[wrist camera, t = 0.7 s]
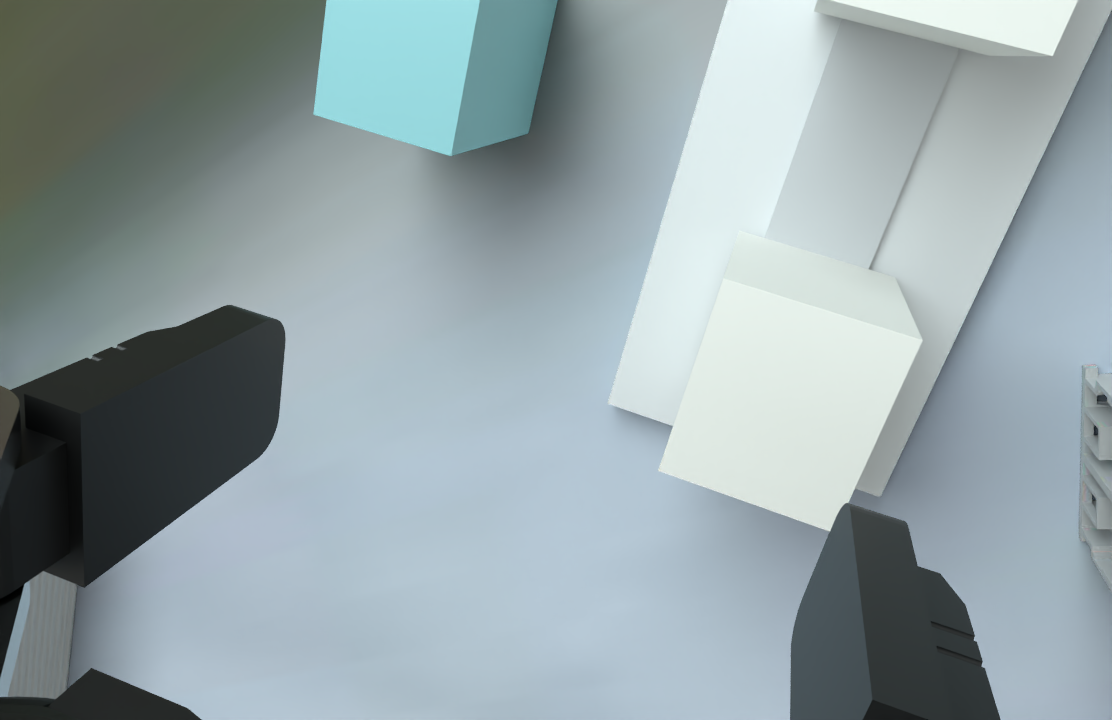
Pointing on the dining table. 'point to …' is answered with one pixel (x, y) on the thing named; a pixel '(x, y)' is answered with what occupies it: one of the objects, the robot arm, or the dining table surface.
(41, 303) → the dining table surface
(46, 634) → the aluminum extrusion profile
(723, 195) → the rail panel
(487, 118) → the block
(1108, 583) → the circuit breaker
